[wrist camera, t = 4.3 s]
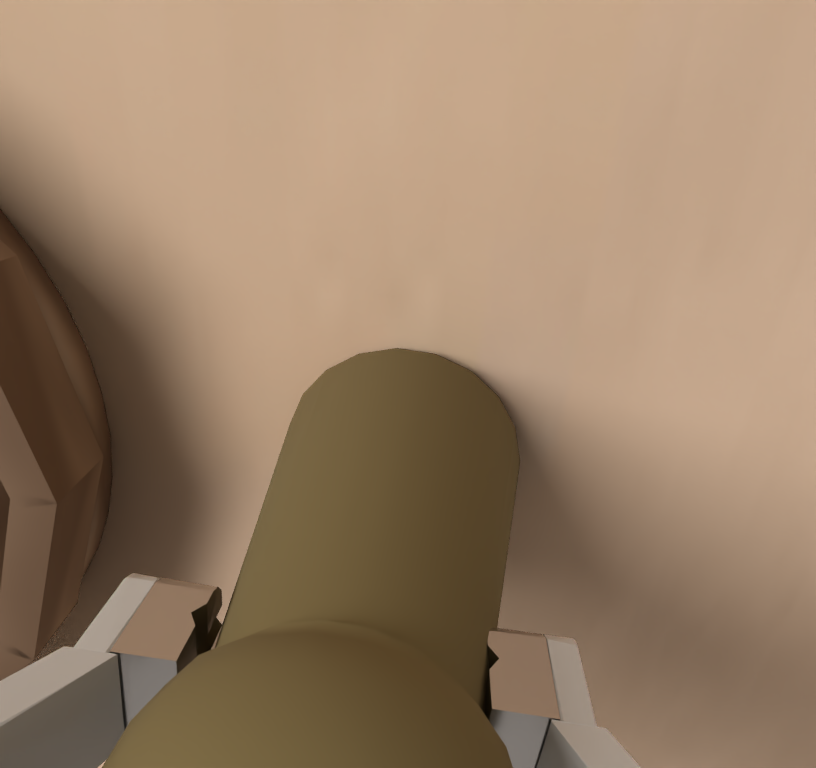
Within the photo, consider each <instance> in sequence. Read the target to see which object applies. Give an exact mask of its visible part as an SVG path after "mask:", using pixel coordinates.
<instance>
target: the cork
mask: <svg viewBox="0 0 816 768" xmlns="http://www.w3.org/2000/svg"><path fill="white" fill-rule="evenodd" d="M519 465H520V457H519V450H518V443H517V436H516V429H515V427H514V425H513V423H512V421H511V419H510V417H509V415H508V413H507V412H506V410H505V408H504V406H503V404H502V402H501V400H500V399H499V397H498V396H497V395H496V394H495V393H494V392H493V391H492V390H491V389H490V388H489V387H488V386H486V385H485V384H484V383H483V382H482V381H481V380H480V379H479V378H478V377H477V376H476V375H475V374H474V373H473V372H471V371H470V370H468V369H466V368H464V367H461V366H459V365H457V364H455V363H453V362H451V361H449V360H447V359H445V358H443V357H441V356H438V355H436V354H431V353H425V352H418V351H411V350H405V349H398V348H395V349H388V350H382V351H375V352H368V353H362V354H358V355H356V356H354V357H352V358H350V359H348V360H346V361H344V362H342V363H340V364H338V365H336V366H334V367H332V368H330V369H328V370H326V371H325V372H324V373H323V374H322V375H321V376H320V377H319V378H318V379H317V380H316V381H315V382H314V384H313V385H312V386H311V387H310V388H309V389H308V390H307V391H306V392H305V393H304V394H303V395H302V398H301V400H300V402H299V405H298V407H297V409H296V412H295V414H294V416H293V418H292V421H291V423H290V426H289V429H288V432H287V435H286V438H285V441H284V444H283V447H282V450H281V452H280V455H279V458H278V461H277V464H276V467H275V470H274V473H273V476H272V479H271V482H270V485H269V488H268V491H267V494H266V497H265V500H264V503H263V506H262V509H261V512H260V515H259V518H258V521H257V524H256V527H255V530H254V533H253V536H252V539H251V542H250V544H249V547H248V550H247V553H246V556H245V559H244V562H243V565H242V568H241V571H240V574H239V577H238V580H237V583H236V586H235V589H234V592H233V595H232V598H231V601H230V604H229V607H228V610H227V613H226V616H225V619H224V622H223V625H222V628H221V631H220V634H219V636H218V639H217V642H216V645H215V648H214V649H212V650H209V651H207V652H205V653H202V654H200V655H198V656H197V657H196V658H195V659H194V660H193V661H192V662H190V663H189V664H188V665H187V666H186V667H185V668H184V669H182V670H181V671H180V672H179V673H178V674H177V675H176V676H174V677H173V678H172V679H171V680H170V681H169V682H168V683H166V684H165V685H164V687H163V688H162V689H161V690H160V691H159V692H158V693H157V694H156V695H155V696H154V697H153V698H152V699H151V700H150V701H149V702H148V703H147V704H146V705H145V706H144V707H143V708H142V709H141V710H140V711H139V713H138V714H137V715H136V716H135V717H134V718H133V719H132V720H131V721H130V723H129V724H128V726H127V727H126V729H125V731H124V732H123V734H122V736H121V737H120V739H119V741H118V742H117V744H116V745H115V747H114V749H113V750H112V752H111V754H110V755H109V757H108V759H107V760H106V762H105V763H104V765H103V767H102V768H513V766H512V763H511V760H510V757H509V753H508V750H507V747H506V746H505V744H504V743H503V741H502V740H501V738H500V737H499V735H498V734H497V732H496V731H495V729H494V728H493V726H492V725H491V723H490V722H489V720H488V719H487V717H486V716H485V695H486V681H487V677H488V673H489V660H488V650H487V642H488V635H489V630H490V629H491V628H492V627H494V628H497V625H498V618H499V611H500V603H501V596H502V589H503V581H504V574H505V567H506V560H507V552H508V545H509V538H510V531H511V523H512V516H513V509H514V501H515V494H516V487H517V480H518V472H519Z"/></svg>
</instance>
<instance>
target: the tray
mask: <svg viewBox="0 0 816 768" xmlns="http://www.w3.org/2000/svg"><path fill="white" fill-rule="evenodd" d="M111 484H112V460H111V441H110V433H109V428H108V423H107V418H106V413H105V408H104V403H103V398H102V393H101V390H100V387H99V384H98V381H97V378H96V375H95V372H94V370H93V367H92V364H91V361H90V358H89V355H88V352H87V349H86V347H85V345H84V342H83V340H82V338H81V336H80V334H79V332H78V330H77V328H76V326H75V324H74V322H73V319H72V317H71V315H70V313H69V311H68V309H67V307H66V305H65V303H64V301H63V299H62V298H61V296H60V294H59V293H58V291H57V289H56V288H55V286H54V285H53V283H52V281H51V280H50V278H49V277H48V275H47V273H46V272H45V270H44V269H43V267H42V265H41V264H40V262H39V260H38V259H37V257H36V256H35V254H34V252H33V251H32V250H31V249H30V247H29V246H28V245H27V243H26V242H25V241H24V240H23V238H22V237H21V236H20V234H19V233H18V232H17V231H16V229H15V228H14V227H13V225H12V224H11V223H10V221H9V220H8V219H7V218H6V216H5V215H4V214H3V212H2V211H1V210H0V681H1V680H3V679H5V678H7V677H8V676H10V675H12V674H14V673H16V672H18V671H19V670H21V669H23V668H24V667H26V666H27V665H28V664H30V663H31V662H32V661H34V660H35V658H36V657H37V656H38V654H39V653H40V652H41V650H42V649H43V648H44V646H45V645H46V644H47V642H48V641H49V640H50V638H51V637H52V636H53V634H54V633H55V632H56V630H57V629H58V628H59V626H60V625H61V624H62V622H63V621H64V620H65V618H66V617H67V616H68V614H69V613H70V612H71V610H72V609H73V608H74V606H75V605H76V604H77V602H78V596H79V591H80V585H81V580H82V577H83V575H84V574H85V573H86V570H87V568H88V566H89V564H90V562H91V560H92V558H93V556H94V554H95V552H96V550H97V548H98V546H99V544H100V540H101V537H102V533H103V530H104V526H105V523H106V519H107V516H108V512H109V503H110V494H111Z"/></svg>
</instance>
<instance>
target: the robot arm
mask: <svg viewBox="0 0 816 768" xmlns="http://www.w3.org/2000/svg"><path fill="white" fill-rule="evenodd" d="M221 606H222V593H221V589H220V588H218V587H215V586H209V585H203V584H197V583H192V582H186V581H180V580H174V579H169V578H163V577H162V578H159V577H153V576H148V575H142V574H137V573H132V574H130V575H129V576H127V577H126V578H124V579H123V581H122V582H121V583H120V585H119V586H118V588H117V589H116V590H115V592H114V593H113V594H112V596H111V597H110V598H109V600H108V601H107V602H106V604H105V605H104V606H103V608H102V609H101V610H100V612H99V613H98V615H97V616H96V617H95V619H94V620H93V621H92V623H91V624H90V625H89V627H88V628H87V629H86V631H85V632H84V633H83V635H82V636H81V637H80V639H79V640H78V641H77V643H76V644H75V646H74V647H67V646H63V647H62V648H60V649H58V650H56V651H54V652H52V653H51V654H49V655H47V656H45V657H43V658H41V659H40V660H38V661H36V662H34V663H32V664H30V665H29V666H27V667H25V668H23V669H21V670H19V671H18V672H16V673H14V674H12V675H10V676H8V677H7V678H5V679H3V680H1V681H0V768H97V767H98V766H100V765H101V764H102V763H103V762H104V761H105V760H107V759H108V757H109V755H110V754H111V752H112V750H113V749H114V747H115V745H116V744H117V742H118V741H119V739H120V737H121V736H122V734H123V732H124V731H125V729H126V727H127V726H128V724H129V723H130V721H131V720H132V719H133V718H134V717H135V716H136V715H137V714H138V713H139V711H140V710H141V709H142V708H143V707H144V706H145V705H146V704H147V703H148V702H149V701H150V700H151V699H152V698H153V697H154V696H155V695H156V694H157V693H158V692H159V691H160V690H161V689H162V688H163V687H164V685H165V684H166V683H168V682H169V681H170V680H171V679H172V678H173V677H174V676H176V675H177V674H178V673H179V672H180V671H181V670H182V669H184V668H185V667H186V666H187V665H188V664H189V663H190V662H192V661H193V660H194V659H195V658H196V657H197V656H198V655H200V654H202V653H205V652H207V651H209V650H212V649H214V648H215V645H216V642H217V639H218V636H219V634H220V631H221V628H222V624H221V623H220V622H219V621H218V619H217V618H216V616H217V614H218V612H219V610H220V608H221ZM487 650H488V660H489V673H488V677H487V681H486V695H485V716H486V717H487V719H488V720H489V722H490V723H491V725H492V726H493V728H494V729H495V731H496V732H497V734H498V735H499V737H500V738H501V740H502V741H503V743H504V744H505V746H506V747H507V750H508V753H509V757H510V760H511V763H512V766H513V768H641V767H640V765H639V764H638V763H637V762H636V761H635V760H634V759H633V757H632V756H631V755H630V754H629V753H628V752H627V751H626V749H625V748H624V747H623V746H622V745H621V744H620V743H619V741H618V740H617V739H616V738H615V737H614V736H613V735H612V733H611V732H610V731H609V730H608V729H607V728H603V727H598V726H597V723H596V718H595V714H594V710H593V706H592V702H591V698H590V694H589V690H588V685H587V681H586V677H585V673H584V669H583V665H582V661H581V656H580V652H579V648H578V644H577V642H576V641H575V640H574V638H568V637H560V636H553V635H546V634H544V635H542V634H537V633H530V632H523V631H516V630H508V629H501V628H494V627H492V628H491V629H490V630H489V635H488V642H487Z"/></svg>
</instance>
